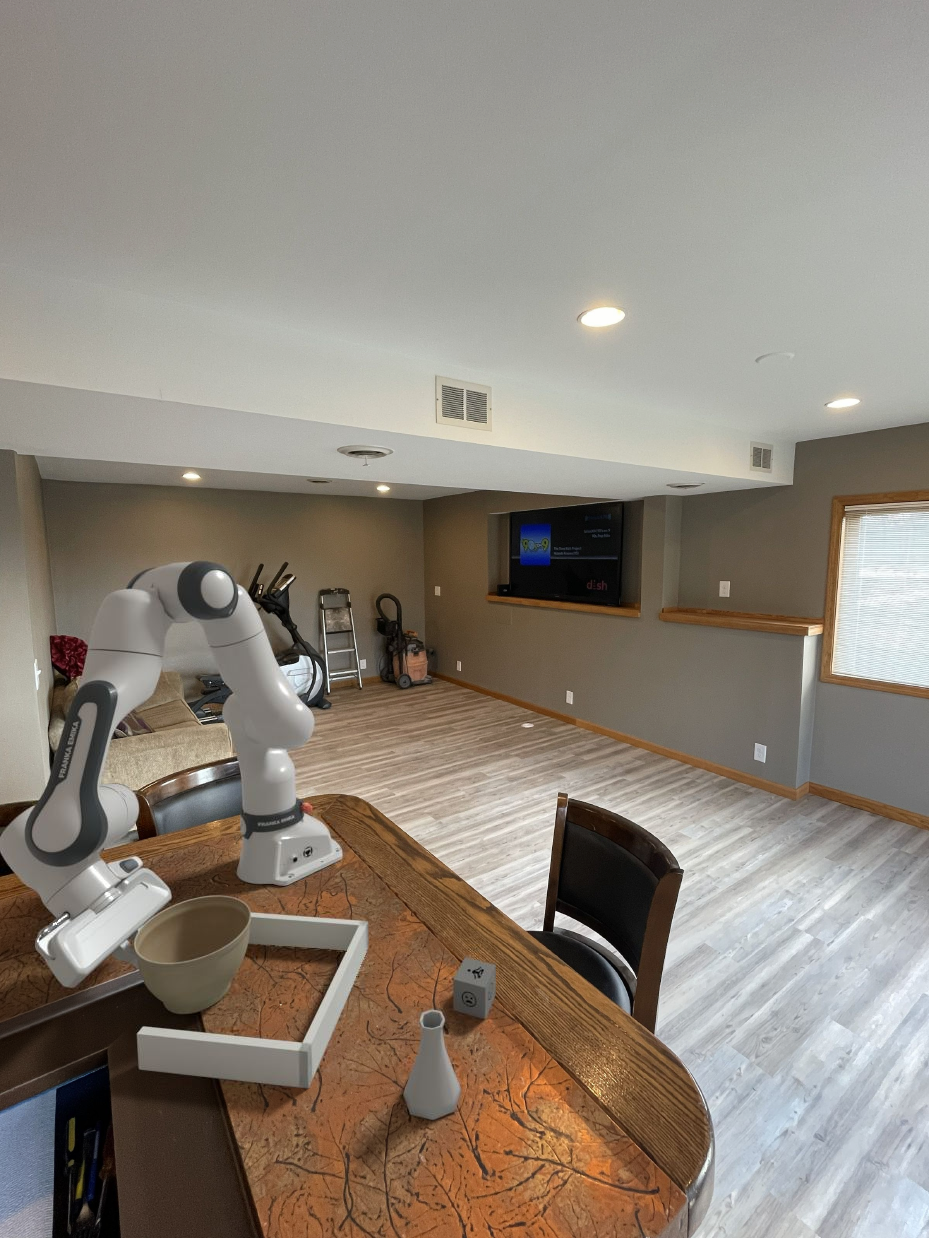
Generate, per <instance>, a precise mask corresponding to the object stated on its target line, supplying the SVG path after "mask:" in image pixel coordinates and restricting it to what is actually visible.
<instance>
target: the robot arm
mask: <svg viewBox="0 0 929 1238" xmlns="http://www.w3.org/2000/svg"><path fill="white" fill-rule="evenodd" d="M196 621H197V623H199V625H200V626H201V627H202V629H203V632H204V636H205V639H206V641H207V644H208V646H209V648H210V651H211V655H212V657H213V659H214V662H215V665H216V668H217V670H218V673H219V675H220V677H221V679H222V681H223V682H224V684H225V685H226V686H227V687H228V688H229V689H230V691H231V692H232V694H230V695H229V696H228V697H227V698H226V700H225V702H224V703H223V706H222V712H221V715H222V720H223V722H224V724H225V725H226V727H227V729H228V731H229V733H230V737H231V739H232V742H233V743H232V744H233V746H234V747H233V748H234V750H235V751H234V752H235V754H236V758H237V761H238V766H239V771H240V778H241V779H240V780H241V796H242V797H241V799H242V800H241V801H242V805H241V808H240V816H239V821H240V822H239V823H240V824H239V825H240V832H241V836H242V839H241V850H240V855H239V861H238V865H237V868H236V875H237V877H238V879H240V880H241V881H243V882H246V883H249V884H254V885H265V884H267V885H268V884H269V885H270V884H271V885H272V884H273V885H277V886H281V887H282V886H284V887H285V886H288V885H291V884H294V883H295V882H296V881H299V880H302V879H304V878H305V877H307V876H310V875H311V874H314V873H315V872H317V871H320V870H322V869H325V868H327V867H328V866H330V865H333V864H335V863H337V862H339V861H341V860H342V859H343V849H342V847H341V846H340V844H339V843H338V842H337V841H336V840H335V839H333V838H332V837H331V833H330V830H329V828H328V827H327V825H325V824H324V823H323V822H322V821H321V820H319V819H317V818H316V817H314V816H311V815H310V814H311V813H312V811H313V806H312V805H311V803H309V802H305V801H304V800H303V799H301V798H299V797H297V791H296V788H297V786H296V785H297V784H296V783H297V782H296V768H295V765H294V762H293V761H292V759H291V758H290V756H289V753H288V750H290V751H291V750H297V749H299V748H301V747H302V746H304V745H305V744H306V743H308V741H309V740H310V739H311V737H312V735H313V732H314V730H315V717H314V716H315V715H314V714H313V712H312V710H311V709H310V708H309V707H308V706H307V705H306V704H305V702H303V701H302V700H301V698H300V697H299V696H298V694H297V693H296V691H295V690H294V688H293V687H292V685H291V683H290V682H289V680H288V679H287V677H286V675H285V674H284V671H282V668H281V667H280V665H279V664H278V661H277V659H276V657H275V655H274V652H273V648H272V645H271V643H270V640H269V637H268V634H267V631H266V628H265V627H264V623H263V621H262V618H261V617H260V614H259V612H258V609H257V608H256V606H255V604H254V602H253V600H252V598H251V596H250V595H249V593H248V592H247V590H246V589H245V588H244V587H243V586H242V585H240V584H238V583H236V581H235V579H234V577H233V575H232V573H230V572H229V571H228V570H227V568H226V567H224V566H223V565H221V564H219V563H216V562H214V561H213V562H212V561H208V560H196V561H181V562H173V563H172V562H171V563H169V564H167V565H162V566H159V567H150V568H147V569H144V570H143V571H141V572H139V573H137V574H136V575H135V576H133V577H132V579H130V581H129V582H128V584H127V585H126V588H123V589H117V590H115V591H112V592H111V593H109V594H108V595H107V596H105V597H104V599H103V601H102V603H101V604H100V607H99V610H98V612H97V614H96V617H95V620H94V623H93V625H92V626H93V627H92V629H91V633H90V637H89V640H88V645H87V651H86V656H85V662H84V666H83V670H82V674H81V677H80V680H79V681H80V682H79V684H78V687H77V690H76V692H75V694H74V697H73V699H72V700H71V701H72V702H71V704H70V706H69V709H68V711H67V715H66V718H65V721H64V724H63V727H62V728H63V729H62V732H61V735H60V739H59V742H58V746H57V749H56V753H55V757H54V759H53V763H52V768H51V771H50V773H49V778H48V781H47V784H46V785H45V789H44V790H43V792H42V794H41V796H40V797H39V799H38V800H37V802H36V804H35V805H32V806H30V807H29V808H26V809H25V810H24V811H22V812H21V813H19V814H18V815H17V816H16V817H14V818H13V820H11V821H10V822H9V824H7V825H6V827H5V828H4V829H3V831H2V832H1V835H0V854H1V856H2V858H3V859H4V861H5V862H6V864H7V866H8V867H10V869H11V870H12V872H13V873H14V874H15V875H16V877H17V878H19V879H20V881H21V882H22V883H23V884H24V885H25V886H26V887H28V888H31V889H32V890H34V891H35V892H36V893H37V894H38V895H39V896H40V899H41V901H42V904H43V905H44V906H45V907H46V909H47V910H48V911H49V912H50V913H51V914H52V915H53V916H54V917H55V919H54V920H53V921H52V922H51V923H49V924H48V925H45V926H44V927H43V928H42V929H40V930H39V932H38V933H37V937H36V938H35V943H34V948H35V949H36V951H37V953H39V955H40V956H41V957H43V959H44V961H45V962H46V964H47V966H48V968H49V970H50V971H51V972H52V974H53V975H54V976H55V978H56V979H57V980H58V982H59V983H60V985H62V986H63V987H65V988H70V989H71V988H72V989H74V988H76V987H77V986H78V985H79V984H80V983H81V982H82V981H83V980H84V979H85V978H87V977H88V976H89V975H90V974H91V973H93V972H94V970H96V969H97V967H99V966H100V965H102V963H103V962H104V961H106V959H108V958H109V957H110V956H111V955H112V956H113V957H114V958H115V959H116V960H119V961H121V962H122V961H123V962H125V963H126V962H127V963H131V965H133V966H134V968H135V969H137V970H139V968H138V963H137V957H136V955H135V951H134V948H130V947H131V946H132V944H131V943H130V942H129V939H130V941H131V942H132V943H133V944H134V940H135V937H136V935H137V933H138V931H139V930H140V929H141V927H142V926H143V925H144V924H145V923H146V922H147V921H149V920H150V919H151V918H152V917H154V916H155V915H157V914H158V913H159V911H161V909H163V908H164V907H165V906H166V905H167V904H168V903H169V902H170V901H171V900H172V892H171V889H170V888H169V886H168V884H166V883H165V882H164V881H163V880H162V878H160V877H159V876H158V875H157V874H156V873H155V872H154V871H152V870H151V869H149V868H147V867H143V865H144V862H143V861H142V860H141V858H140V857H138V856H135V855H134V856H130V857H126V858H124V859H123V858H122V859H119V860H116V861H115V860H114V861H111V862H108V863H106V862H105V861H104V860H103V859H102V858H101V856H100V853H101V851H102V850H103V849H104V848H106V847H108V846H109V845H111V844H113V843H115V842H117V841H119V840H120V839H122V838H123V837H125V836H126V835H127V834H128V833H129V832H130V831H131V830H132V829H133V828H134V826H135V825H136V823H137V821H138V818H139V816H140V803H139V799H138V796H137V795H136V793H135V792H134V791H133V789H131V788H130V787H128V786H127V785H125V784H121V783H118V782H116V783H115V782H111V783H110V782H109V783H102V784H101V782H102V776H103V772H104V769H105V765H106V761H107V757H108V756H107V755H108V754H109V753H108V752H109V748H110V745H111V740H112V737H113V736H114V732H115V731H116V728H117V727H118V725H119V724H120V723H121V721H122V720H123V719H124V718H125V717H126V716H127V715H128V714H129V713H131V712H133V710H135V709H136V708H137V707H139V706H141V705H142V704H144V703H145V702H146V701H147V700H149V699H150V698H151V696H153V694H154V693H155V690H156V688H157V684H158V682H159V679H160V676H161V672H162V666H163V661H164V652H165V645H166V643H165V642H166V636H167V633H168V632H169V629H170V627H172V625H173V624H187V623H190V622H196ZM141 867H142V868H141Z"/></svg>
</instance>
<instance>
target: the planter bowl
mask: <svg viewBox="0 0 929 1238" xmlns="http://www.w3.org/2000/svg"><path fill="white" fill-rule="evenodd" d="M251 913H252V911H251V909H250V907H249V905H248V904H247V903H246V902H245V901H244V900H241V899H239V898H236V897H232V896H228V895H219V894H218V895H216V894H215V895H205V896H200V897H196V898H191V899H187V900H184V901H181V902H179V903H175V904H174V905H171V906H169V907H167V908H165V909H164V910H162V911H160V912H157V913H156V914H155V915H154V916H153V917H152V918H151V919H149V920H148V921H147V922H146V923H145V924H144V925H143V926H142V927H141V929H140V930H139V931H138V933H137V935H136V937H135V940H134V943H133V949H134V951H135V955H136V957H137V963H138V968H139V969H138V971H139V974H140V977H141V979H142V981H143V983H144V985H145V986H146V988H147V990H149V992H151V994H152V995H153V996H154V997H156V998H157V999H158V1000H159V1001H161V1002H163V1003H162V1004H163V1006H164V1007H165V1009H167V1010H168V1011H169V1012H171V1013H174V1014H178V1015H188V1014H194V1013H198V1012H201V1011H204V1010H206V1009H208V1008H210V1007H211V1006H213V1005H215V1004H217V1003H218V1002H219V1001H220V1000H221V999H223V998H224V996H225V995H226V994H227V993H228V991H229V990H230V987H231V984H232V980H233V979H234V977H235V976H236V974H237V973H238V970H239V969H240V967H241V965H242V963H243V960H244V959H245V954H246V952H247V950H248V945H249V944H248V940H249V931H250V923H251Z"/></svg>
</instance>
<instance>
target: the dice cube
mask: <svg viewBox="0 0 929 1238" xmlns="http://www.w3.org/2000/svg"><path fill="white" fill-rule="evenodd" d="M496 968H497V967H496V964H492V963H489V962H484V961H481V960H477V959H472V958H469V957H466V956H465V957H464V958H463V961H462V962H461V964H460V966H459V968H458V970H457V971H456V973H455V975H454V976H453V978H452V979H453V981H452V983H453V984H452V985H453V988H452V989H453V993H452V995H453V996H452V997H453V998H452V1000H453V1001H452V1002H453V1005H452V1007H453V1008H452V1010H453V1011H455V1012H458V1013H461V1014H465V1015H469V1016H472V1017H475V1018H479V1019H482V1020H486V1019H487V1017H488V1015H489V1011H490V1009H491V1007H492V1004H493V1002H494V999H495V997H496V977H497V976H496V971H497V970H496Z"/></svg>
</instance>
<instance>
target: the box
mask: <svg viewBox="0 0 929 1238" xmlns="http://www.w3.org/2000/svg"><path fill="white" fill-rule="evenodd" d="M258 944H260V945H261V946H270V945H275V946H274V947H282V946H294V947H295V946H297V947H298V946H299V947H310V948H311V947H312V948H329V949H338V950H347V952H345V954H344V956H343V958H342V960H341V962H340V964H339V966H338V969H337V970H336V972H335V974H334V977H333V979H332V980H331V982H330V985H329V987H328V989H327V991H326V993H325V995H324V998H323V999H322V1001H321V1004H320V1006H319V1008H318V1010H317V1012H316V1014H315V1016H314V1018H313V1020H312V1023H311V1024H310V1026H309V1028H308V1031H307V1032H306V1034H305V1036H304V1039H303V1040H302V1042H298V1041H288V1040H280V1039H268V1038H259V1037H250V1036H240V1035H230V1034H219V1033H209V1032H201V1031H191V1030H181V1029H173V1028H172V1029H171V1028H164V1027H163V1028H161V1027H152V1026H142V1027H141V1028H140V1030H139V1031H138V1032H137V1033H136V1042H137V1060H138V1061H137V1062H138V1070H143V1071H150V1072H151V1071H152V1072H158V1073H166V1074H167V1073H169V1074H176V1075H177V1074H178V1075H185V1076H195V1077H202V1078H203V1077H205V1078H213V1079H221V1080H222V1079H223V1080H229V1081H231V1080H232V1081H239V1082H240V1081H241V1082H247V1083H257V1084H265V1085H274V1086H275V1085H276V1086H283V1087H293V1088H302V1089H310V1086H311V1084H312V1082H313V1079H314V1077H315V1075H316V1073H317V1070H318V1068H319V1065H320V1063H321V1061H322V1058H323V1056H324V1053H325V1051H326V1049H327V1047H328V1045H329V1042H330V1040H331V1038H332V1035H333V1032H334V1030H335V1028H336V1026H337V1023H338V1021H339V1019H340V1016H341V1014H342V1012H343V1009H344V1007H345V1005H346V1003H347V1001H348V997H349V995H350V993H351V990H352V989H351V988H353V986H354V983H355V982H354V981H356V979H357V977H358V975H359V972H360V970H359V969H361V968H360V967H362V965H363V963H364V961H363V960H365V958H366V956H365V955H367V954H366V953H368V951H369V949H370V948H369V921H367V920H356V919H355V920H354V919H343V918H331V917H330V918H329V917H317V916H316V917H315V916H301V915H287V914H277V913H263V912H262V913H261V912H251V923H250V931H249V940H248V945H258ZM277 945H278V946H277ZM294 947H293V948H294ZM368 948H369V949H368ZM367 950H368V951H367ZM364 957H365V958H364ZM362 962H363V963H362ZM361 964H362V965H361ZM357 974H358V975H357ZM356 976H357V977H356Z"/></svg>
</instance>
